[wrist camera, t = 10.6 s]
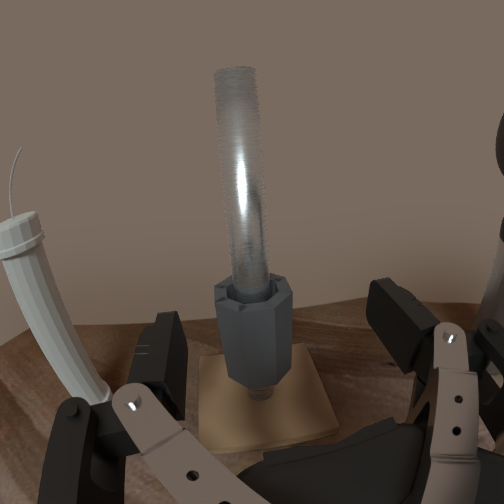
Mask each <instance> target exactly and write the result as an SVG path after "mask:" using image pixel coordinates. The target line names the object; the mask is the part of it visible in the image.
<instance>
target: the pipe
mask: <svg viewBox="0 0 504 504" xmlns="http://www.w3.org/2000/svg"><path fill="white" fill-rule="evenodd" d="M21 150H22V147H21V148H20V149H19V151H18V153H17V156H16V158H15V161H14V164H13V167H12V171H11V177H10V187H9V199H10V209H11V215H12V218H10V219H8V220H6V221H4V222H2V223H0V259H2V262H3V265H4V268H5V271H6V274H7V276H8V279H9V281H10V284H11V287H12V289H13V292H14V294H15V296H16V299H17V301H18V303H19V306H20V308H21V310H22V312H23V314H24V317H25V319H26V320H27V323H28V325H29V327H30V329H31V331H32V333H33V334H34V336H35V338H36V340H37V342H38V344H39V346H40V347H41V349H42V351H43V353H44V354H45V356H46V358H47V359H48V361H49V363H50V364H51V366H52V368H53V369H54V371H55V372H56V374H57V375H58V377H59V378H60V380H61V381H62V383H63V384H64V386H65V387H66V389H67V390H68V392H69V393H70V394H71V396H72V397H81V398H83V399H85V400H86V401H87V402H88V403H89V405H94V404H99V403H103V402H107V401H110V400H112V398H113V396H114V395H113V394H112V392H111V389H110V387H109V385H108V384H107V383H106V381H104V380H102V379H101V378H100V376H99V374H98V373H97V371H96V369H95V367H94V366H93V364H92V362H91V360H90V358H89V356H88V355H87V353H86V351H85V349H84V347H83V345H82V343H81V341H80V339H79V337H78V335H77V333H76V331H75V328H74V326H73V324H72V322H71V320H70V318H69V315H68V313H67V311H66V308H65V306H64V304H63V301H62V299H61V296H60V293H59V291H58V288H57V286H56V283H55V280H54V277H53V275H52V272H51V269H50V266H49V263H48V260H47V257H46V253H45V250H44V247H43V243H42V240H43V239H44V238H45V236H44V232H43V230H42V229H41V225H40V221H39V218H38V214H37V212H36V211H31V212H27V213H23V214H21V215H18V216H15V217H14V216H13V210H12V201H11V185H12V176H13V171H14V167H15V163H16V161H17V158H18V156H19V154H20V152H21Z"/></svg>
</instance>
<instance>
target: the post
mask: <svg viewBox="0 0 504 504" xmlns="http://www.w3.org/2000/svg"><path fill="white" fill-rule="evenodd" d="M213 83H214V84H213V85H214V97H215V110H216V122H217V135H218V146H219V157H220V168H221V179H222V188H223V198H224V208H225V218H226V227H227V237H228V246H229V255H230V263H231V272H232V281H233V289H234V297H235V301H236V302H239V303H242V304H251V303H259V302H266V301H268V300H269V299H270V298H271V296H270V276H269V257H268V237H267V222H266V221H267V220H266V203H265V187H264V172H263V157H262V143H261V129H260V115H259V103H258V90H257V79H256V70H255V69H254V68H251V67H228V68H224V69H219V70H217V71H215V72H213ZM339 428H340V425H339V423H338V420H337V418H336V415H335V413H334V411H333V408H332V406H331V403H330V401H329V399H328V396H327V394H326V391H325V389H324V387H323V384H322V382H321V379H320V377H319V375H318V372H317V370H316V367H315V365H314V363H313V360H312V358H311V356H310V353H309V351H308V349H307V346H306V344H305V342H303V343H297V344H292V363H291V369H290V370H289V371H288V373H287V374H286V375H285V376H284V377H283V378H282V379H281V380H280V382H279V383H278V384H277V385H272V386H265V387H258V388H251V389H249V388H247V387H245V386H243V385H241V384H240V383H238V382H236V381H234V380H233V379H231V378H229V377H228V372H227V367H226V362H225V357H224V354H219V355H209V356H200V362H199V442H200V443H201V444H202V445H203V446H204V447H205V448H206V449H207V450H208V451H209V452H210V453H211V454H225V453H236V452H246V451H254V450H261V449H268V448H274V447H280V446H285V445H291V444H296V443H300V442H305V441H309V440H314V439H318V438H322V437H326V436H329V435H333V434H337V433H338V431H339Z"/></svg>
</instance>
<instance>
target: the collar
mask: <svg viewBox="0 0 504 504" xmlns="http://www.w3.org/2000/svg"><path fill="white" fill-rule="evenodd" d="M269 276H270V296H271V298H270V299H269V300H268V301H266V302H259V303H251V304H242V303H239V302H236V301H235V297H234V289H233V281H232V275H231V276H230V277H228V278H226V279H225V280H223V281H222V282H220V283H219V284H217V285H215V286H214V287H215V288H214V291H215V292H214V293H215V308H216V313H217V320H218V325H219V331H220V336H221V342H222V347H223V352H224V357H225V362H226V367H227V372H228V377H229V378H231V379H233V380H234V381H236V382H238V383H240V384H241V385H243V386H245V387H247V388H249V389H251V388H258V387H265V386H272V385H277V384H278V383H279V382H280V380H281V379H282V378H283V377H284V376H285V375H286V374H287V373H288V371H289V370H290V369H291V363H292V290H291V288H290V286H289V284H288V282H287V280H286V278H285V277H283V276H279V275H275V274H271V273H269Z"/></svg>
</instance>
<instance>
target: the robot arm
mask: <svg viewBox="0 0 504 504" xmlns="http://www.w3.org/2000/svg"><path fill="white" fill-rule="evenodd" d="M496 158H497V163H498V166H499V168H500V170H501V172H502V174H503V175H504V114H503V116H502V118H501V121H500V125H499V128H498V132H497V137H496ZM366 317H367V321H368V323H369V325H370V326H371V327H372V329H373V330H374V331H375V333H376V334H377V336H378V337H379V339H380V340H381V341H382V343H383V344H384V346H385V347H386V348H387V350H388V351H389V353H390V354H391V356H392V357H393V359H394V360H395V362H396V363H397V364H398V366H399V367H400V369H401V370H402V372H403V373H404V375H405V374H407V373H410V372H412V371H415V372H416V376H415V378H414V383H413V390H412V396H411V402H410V408H409V413H408V416H407V419H406V421H405V423H401V424H396V422H395V420H394V418H393V417H390V418H388V419H385V420H383V421H380V422H378V423H375V424H372V425H370V426H367V427H364V428H363V429H361V430H360V431H358V432H356V433H355V434H353V435H351V436H350V437H348V438H346V439H345V440H343V441H341V442H339V443H337V444H335V445H324V446H296V447H292V448H287V449H282V450H276V451H270V452H264V453H263V456H264V460H263V461H261V462H258V463H256V464H254V465H252V466H250V467H248V468H247V469H245V470H244V471H242V472H241V473H240V474H238V475H237V476H235V475H234V474H233V473H232V472H230V471H229V470H228V469H227V468H226V467H225V466H224V465H223V464H221V463H220V462H219V461H218V460H217V459H216V458H215V457H214V456H213V455H212V454H211V453H210V452H209V451H208V450H207V449H206V448H205V447H204V446H203V445H202V444H201V443H200V442H199V441H198V440H197V439H196V438H195V437H194V436H193V435H192V434H191V433H190V432H189V431H188V430H186V429H185V428H184V429H183V428H182V427H181V426H180V425H179V424H178V423H177V422H176V421H181V420H185V398H186V378H187V362H188V347H187V342H186V338H185V335H184V332H183V328H182V325H181V322H180V319H179V315H178V313H177V311H172V312H163V313H158V314H157V317H156V321H155V325H154V326H147V327H146V329H145V330H144V331H143V332H142V333H141V335H140V337H139V340H138V344H137V347H136V351H135V355H134V358H133V362H132V366H131V369H130V373H129V377H128V381H127V385H124V386H122V387H121V388H119V389H118V390H117V391H116V392H115V394H114V396H113V398H112V400H110V401H107V402H103V403H99V404H94V405H89V403H88V402H87V401H86V400H85V399H83V398H81V397H71V398H69V399H67V400H65V401H64V402H63V403H62V404H61V405H60V406H59V408H58V410H57V413H56V416H55V420H54V423H53V427H52V431H51V435H50V439H49V443H48V447H47V451H46V456H45V460H44V465H43V470H42V476H41V482H40V488H39V495H38V503H37V504H124V483H125V462H126V456H129V455H133V454H137V453H142V454H141V456H142V458H143V459H144V461H145V462H146V464H147V465H148V466H149V468H150V469H151V470H152V472H153V473H154V474H155V475H156V477H157V478H158V479H159V481H160V482H161V483H162V484H163V485H164V487H165V488H166V489H167V490H168V491H169V493H170V494H171V495H172V496H173V497H174V498H175V499H176V501H177V502H178V503H179V504H504V382H503V386H502V387H501V389H500V388H499V386H498V385H497V384H496V382H495V381H494V380H493V378H492V377H491V376H490V374H499V373H501V374H502V376H503V379H504V217H503V220H502V224H501V229H500V236H499V240H498V245H497V249H496V254H495V258H494V262H493V266H492V270H491V273H490V277H489V280H488V283H487V287H486V290H485V293H484V296H483V299H482V302H481V305H480V307H479V310H478V313H477V315H476V318H475V321H474V323H473V325H472V328H471V330H470V331H465V332H464V331H463V330H462V329H461V328H460V327H459V326H457V325H456V324H453V323H448V322H444V323H440V321H439V320H438V319H437V318H436V317H435V316H434V315H433V314H432V313H431V312H430V311H429V310H428V309H427V308H426V307H425V306H424V305H422V303H421V302H420V301H419V300H418V299H417V300H416V297H415V296H413V294H412V293H410V292H409V291H408V290H406V289H404V288H402V287H400V286H397V285H396V284H395V283H394V282H393V281H392V280H391V279H390V278H382V279H378V280H373V281H372V282H371V283H370V288H369V294H368V301H367V307H366ZM479 415H480V417H481V419H482V420H483V422H484V424H485V425H486V427H487V429H488V431H489V432H490V434H491V436H492V438H493V439H494V441H495V447H496V448H495V449H494V450H493V452H491V451H488V450H485V449H482V448H479V447H477V444H478V425H479Z"/></svg>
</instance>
